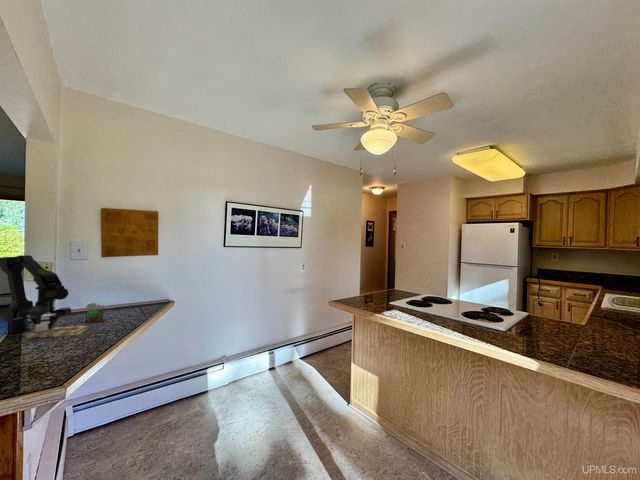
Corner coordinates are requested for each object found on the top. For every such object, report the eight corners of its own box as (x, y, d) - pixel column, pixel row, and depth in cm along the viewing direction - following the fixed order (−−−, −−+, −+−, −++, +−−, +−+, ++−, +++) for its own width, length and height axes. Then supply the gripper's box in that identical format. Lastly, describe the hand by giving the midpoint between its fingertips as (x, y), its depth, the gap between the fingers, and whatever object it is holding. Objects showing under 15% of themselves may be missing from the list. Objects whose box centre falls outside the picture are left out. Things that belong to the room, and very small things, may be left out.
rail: (24, 338, 128) (25, 334, 128) (37, 332, 137) (37, 328, 137) (78, 334, 135) (78, 330, 135) (87, 329, 143) (87, 325, 143)
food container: (81, 321, 158) (81, 304, 158) (93, 319, 163) (94, 302, 163) (91, 324, 152) (91, 307, 152) (103, 322, 157) (104, 305, 158)
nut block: (35, 336, 131) (35, 324, 131) (41, 333, 135) (42, 321, 136) (47, 335, 133) (47, 323, 133) (52, 332, 137) (53, 321, 137)
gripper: (9, 302, 124) (7, 336, 123) (59, 300, 130) (58, 332, 129) (26, 298, 134) (24, 329, 134) (72, 296, 140) (70, 326, 140)
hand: (44, 329), depth 134 cm, fingers closed on nut block, 5 cm apart
